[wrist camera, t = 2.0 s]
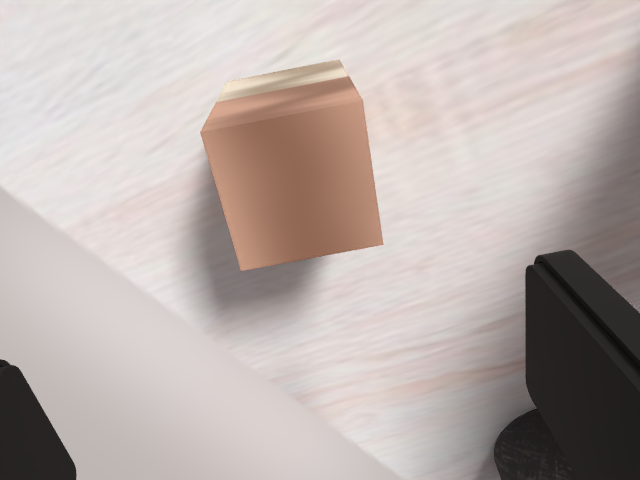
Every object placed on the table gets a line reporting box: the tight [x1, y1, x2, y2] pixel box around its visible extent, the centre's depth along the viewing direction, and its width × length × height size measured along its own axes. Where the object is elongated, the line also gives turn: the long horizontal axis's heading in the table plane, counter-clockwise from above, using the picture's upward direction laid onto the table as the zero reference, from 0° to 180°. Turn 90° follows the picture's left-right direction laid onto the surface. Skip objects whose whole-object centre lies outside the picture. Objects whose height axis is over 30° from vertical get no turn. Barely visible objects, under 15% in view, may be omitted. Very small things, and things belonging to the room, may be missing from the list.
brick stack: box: [200, 59, 383, 271], centre depth 21 cm, size 5×5×8 cm
